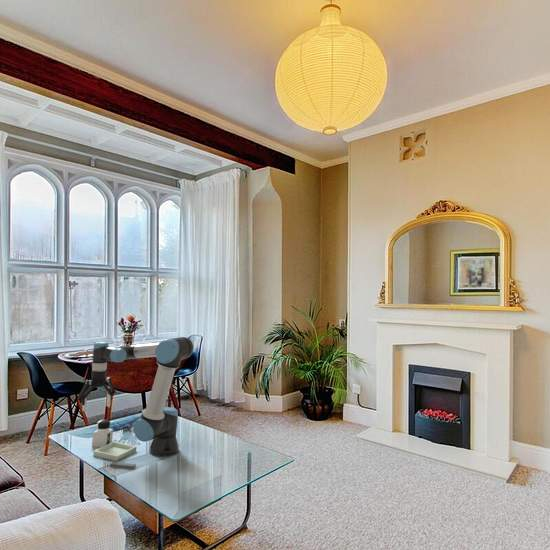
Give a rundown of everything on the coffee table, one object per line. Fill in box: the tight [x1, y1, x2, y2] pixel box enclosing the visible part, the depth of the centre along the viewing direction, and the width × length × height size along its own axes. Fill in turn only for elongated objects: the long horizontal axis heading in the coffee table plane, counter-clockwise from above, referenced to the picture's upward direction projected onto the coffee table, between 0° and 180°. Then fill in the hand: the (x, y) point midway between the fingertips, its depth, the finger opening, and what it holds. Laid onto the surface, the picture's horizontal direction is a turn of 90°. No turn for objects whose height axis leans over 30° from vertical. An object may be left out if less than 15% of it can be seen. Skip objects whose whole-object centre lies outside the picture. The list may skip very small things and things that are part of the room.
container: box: [91, 419, 114, 448], centre depth 226 cm, size 8×8×13 cm
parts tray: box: [92, 440, 137, 462], centre depth 216 cm, size 15×15×2 cm
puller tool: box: [109, 461, 137, 470], centre depth 201 cm, size 12×2×2 cm, turn 86°
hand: (96, 408), depth 227 cm, fingers open, 13 cm apart
